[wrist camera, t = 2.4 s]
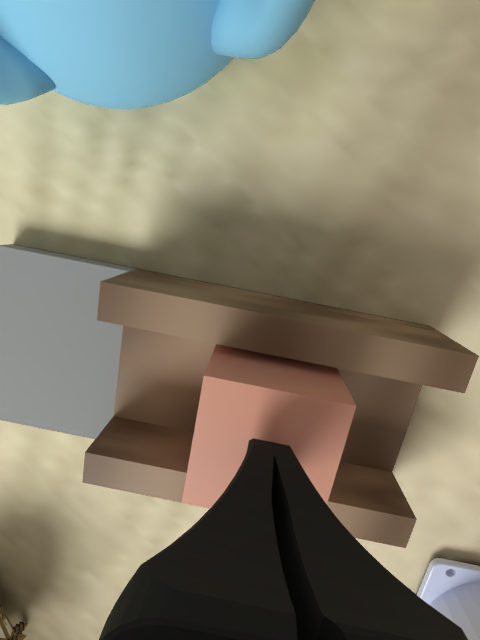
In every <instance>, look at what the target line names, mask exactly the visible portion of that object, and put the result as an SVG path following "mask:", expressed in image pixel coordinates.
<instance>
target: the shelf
mask: <svg viewBox="0 0 480 640" xmlns="http://www.w3.org/2000/svg"><path fill="white" fill-rule="evenodd" d="M134 269H136V268H131V267H125V266H120V265H115V264H110V263H105V262H100V261H95V260H90V259H85V258H80V257H74V256H69V255H64V254H59V253H54V252H49V251H44V250H39V249H34V248H29V247H24V246H18V245H13V244H10V245H0V420H3V421H8V422H13V423H18V424H23V425H28V426H33V427H37V428H42V429H47V430H52V431H57V432H62V433H67V434H72V435H77V436H82V437H87V438H92V439H96V438H97V437H98V435H99V434H100V433H101V431H102V430H103V429H104V428H105V426H106V425H107V424H108V422H109V421H110V420H111V419H112V417H113V416H114V406H115V397H116V388H117V379H118V369H119V360H120V351H121V342H122V333H123V325H118V324H113V323H108V322H103V321H98V320H97V314H98V302H99V291H100V281H103V280H106V279H109V278H112V277H114V276H117V275H120V274H123V273H126V272H129V271H131V270H134Z"/></svg>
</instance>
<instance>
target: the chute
mask: <svg viewBox="0 0 480 640" xmlns="http://www.w3.org/2000/svg"><path fill="white" fill-rule="evenodd" d="M97 320H98V321H103V322H108V323H113V324H118V325H123V333H122V342H121V351H120V360H119V369H118V379H117V388H116V397H115V406H114V416H113V417H112V419H111V420H110V421H109V422H108V424H107V425H106V426H105V428H104V429H103V430H102V431H101V433H100V434H99V435H98V437H97V438H96V439H95V440H94V442H93V443H92V444H91V446H90V447H89V448H88V449H87V451H86V452H85V461H84V472H83V483H88V484H93V485H98V486H103V487H108V488H113V489H118V490H123V491H127V492H132V493H137V494H142V495H147V496H152V497H157V498H162V499H167V500H172V501H177V502H182V498H183V492H184V486H185V480H186V475H187V469H188V463H189V458H190V452H191V446H192V440H193V435H194V429H195V423H196V417H197V412H198V406H199V400H200V395H201V389H202V383H203V377H204V374H205V371H206V369H207V366H208V364H209V361H210V358H211V356H212V353H213V351H214V348H215V346H216V344H219V345H224V346H229V347H234V348H239V349H244V350H249V351H254V352H259V353H264V354H269V355H274V356H279V357H284V358H289V359H294V360H299V361H305V362H310V363H315V364H320V365H325V366H330V367H335V368H337V369H338V371H339V373H340V375H341V377H342V379H343V381H344V383H345V385H346V387H347V389H348V390H349V392H350V394H351V396H352V398H353V400H354V402H355V404H356V409H355V412H354V416H353V419H352V422H351V426H350V429H349V433H348V436H347V439H346V443H345V446H344V449H343V453H342V456H341V459H340V463H339V466H338V469H337V473H336V476H335V479H334V483H333V486H332V489H331V493H330V496H329V499H328V503H327V505H328V507H329V508H330V509H331V511H332V512H333V513H334V515H335V516H336V517H337V518H338V520H339V521H340V522H341V523H342V524H343V525H344V527H345V528H346V529H347V530H348V531H349V532H350V533H351V535H352V536H353V537H354V538H359V539H364V540H369V541H374V542H379V543H384V544H388V545H393V546H398V547H403V548H406V546H407V543H408V541H409V538H410V535H411V533H412V530H413V527H414V525H415V522H416V520H417V519H416V517H415V515H414V513H413V511H412V510H411V508H410V506H409V504H408V502H407V500H406V498H405V496H404V494H403V492H402V490H401V488H400V486H399V485H398V483H397V481H396V479H395V477H394V475H393V473H392V471H393V468H394V465H395V462H396V459H397V456H398V453H399V450H400V447H401V445H402V442H403V439H404V436H405V433H406V430H407V427H408V424H409V421H410V418H411V416H412V413H413V410H414V407H415V404H416V401H417V398H418V395H419V392H420V390H421V387H422V385H426V386H431V387H436V388H441V389H446V390H451V391H456V392H461V393H465V391H466V388H467V386H468V383H469V380H470V378H471V375H472V372H473V370H474V367H475V365H476V362H477V359H478V357H479V356H478V355H476V354H475V353H473V352H471V351H470V350H468V349H467V348H465V347H463V346H462V345H460V344H458V343H457V342H455V341H453V340H452V339H450V338H449V337H447V336H445V335H444V334H442V333H440V332H439V331H437V330H435V329H434V328H432V327H431V326H426V325H421V324H416V323H411V322H406V321H401V320H395V319H390V318H385V317H380V316H375V315H370V314H365V313H360V312H355V311H350V310H345V309H339V308H334V307H329V306H324V305H319V304H314V303H309V302H304V301H299V300H294V299H288V298H283V297H278V296H273V295H268V294H263V293H258V292H253V291H248V290H243V289H238V288H232V287H227V286H222V285H217V284H212V283H207V282H202V281H197V280H192V279H187V278H181V277H176V276H171V275H166V274H161V273H156V272H151V271H146V270H141V269H134V270H131V271H129V272H126V273H123V274H120V275H117V276H114V277H112V278H109V279H106V280H103V281H100V291H99V302H98V314H97Z"/></svg>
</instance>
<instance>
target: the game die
mask: <svg viewBox="0 0 480 640" xmlns="http://www.w3.org/2000/svg"><path fill="white" fill-rule="evenodd" d="M26 625H27V623H23V622H20V623H19V624H16V626H15V627H13V626H12V624H11V623H10V621H9V619H8V618H7V616H6V614H5V613H4V611H3V609H2V608H1V606H0V640H23V639H24V638H25V637H26V635H24V634H22V633H19V632H22V631H23V630H24V628H25V627H26ZM14 634H16V635H14Z"/></svg>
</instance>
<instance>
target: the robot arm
mask: <svg viewBox="0 0 480 640" xmlns="http://www.w3.org/2000/svg"><path fill="white" fill-rule="evenodd" d="M449 569H450V570H449ZM99 640H480V566H477V565H472V564H468V563H463V562H458V561H453V560H448V559H443V558H436V559H433V560H432V561H431V562H430V564H429V566H428V569H427V571H426V573H425V576H424V578H423V581H422V583H421V586H420V588H419V591H418V593H417V595H416V594H415V593H414V592H412V591H411V590H410V589H409V588H407V587H406V586H405V585H404V584H403V583H401V582H400V581H399V580H398V579H397V578H396V577H394V576H393V575H392V574H391V573H390V572H389V571H388V570H387V569H385V568H384V567H383V566H382V565H381V564H380V563H379V562H378V561H377V560H376V559H375V558H374V557H373V556H372V555H371V554H370V553H369V552H368V551H367V550H366V549H365V548H364V547H363V546H362V545H361V544H360V543H359V542H358V541H357V540H356V539H355V538H354V537H353V536H352V535H351V533H350V532H349V531H348V530H347V529H346V528H345V527H344V525H343V524H342V523H341V522H340V521H339V520H338V518H337V517H336V516H335V515H334V513H333V512H332V511H331V509H330V508H329V507H328V505H327V504H326V503H325V501H324V500H323V499H322V497H321V496H320V494H319V493H318V491H317V490H316V488H315V487H314V485H313V484H312V482H311V481H310V479H309V477H308V476H307V474H306V472H305V471H304V469H303V467H302V466H301V464H300V462H299V461H298V459H297V457H296V455H295V454H294V452H293V450H292V448H291V447H290V446H289V445H284V444H279V443H274V442H269V441H264V440H259V439H254V438H253V439H251V440H249V443H248V447H247V452H246V455H245V458H244V460H243V462H242V464H241V466H240V467H239V469H238V471H237V473H236V475H235V476H234V478H233V479H232V481H231V482H230V484H229V485H228V487H227V488H226V490H225V491H224V492H223V494H222V495H221V496H220V497H219V499H218V500H217V501H216V502H215V504H214V505H213V506H212V507H211V508H210V509H209V510H208V511H207V512H206V513H205V514H204V516H203V517H202V518H201V519H200V520H199V521H198V522H197V523H196V524H195V525H193V526H192V527H191V528H190V529H189V530H188V531H187V532H185V533H184V534H183V535H182V536H181V537H179V538H178V539H177V540H176V541H175V542H173V543H172V544H171V545H169V546H168V547H167V548H165V549H164V550H162V551H161V552H159V553H158V554H156V555H155V556H153V557H152V558H150V559H149V560H147V561H146V562H144V563H143V564H141V566H140V567H139V568H138V570H137V571H136V573H135V574H134V575H133V577H132V578H131V580H130V581H129V583H128V584H127V586H126V587H125V589H124V590H123V592H122V593H121V595H120V597H119V598H118V600H117V602H116V603H115V605H114V607H113V609H112V611H111V613H110V615H109V617H108V619H107V621H106V623H105V626H104V628H103V631H102V633H101V636H100V638H99Z"/></svg>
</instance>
